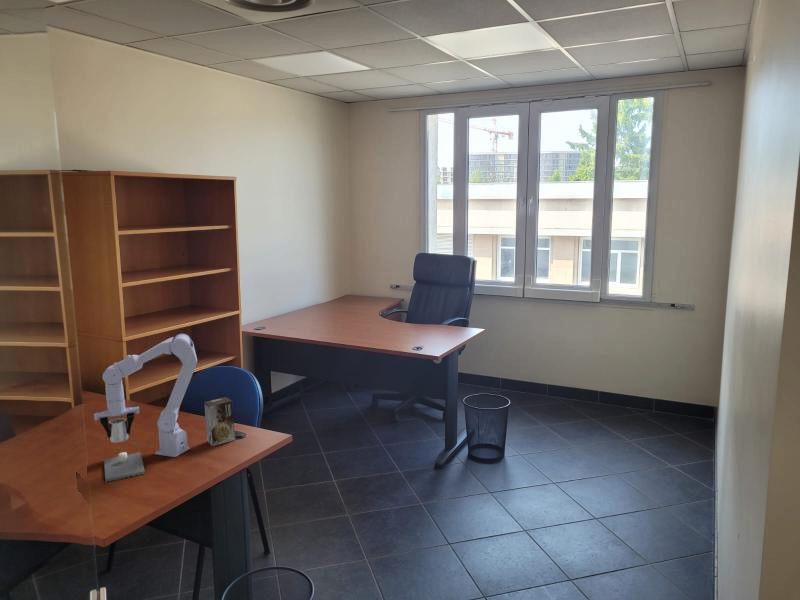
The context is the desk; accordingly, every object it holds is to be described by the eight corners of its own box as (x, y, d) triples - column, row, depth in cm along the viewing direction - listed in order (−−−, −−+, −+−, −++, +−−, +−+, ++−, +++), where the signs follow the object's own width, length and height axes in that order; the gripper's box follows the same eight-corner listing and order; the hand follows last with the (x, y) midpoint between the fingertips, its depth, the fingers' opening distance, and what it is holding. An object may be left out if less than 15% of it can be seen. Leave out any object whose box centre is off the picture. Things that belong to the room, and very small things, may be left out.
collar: (131, 437, 212) (129, 419, 211) (119, 443, 207) (117, 424, 206) (119, 435, 214) (117, 417, 213) (107, 441, 209) (105, 422, 208)
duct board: (140, 454, 214) (139, 444, 213) (145, 473, 198) (143, 462, 197) (104, 462, 208) (103, 451, 207) (105, 482, 192) (104, 470, 192)
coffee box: (229, 435, 230) (226, 396, 228) (235, 440, 225) (232, 400, 223) (206, 441, 225) (203, 401, 222) (212, 446, 220) (209, 405, 217)
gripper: (136, 392, 215) (140, 427, 217) (92, 399, 208) (96, 435, 210) (138, 398, 209) (141, 434, 211) (92, 405, 202) (96, 442, 204)
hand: (119, 435), depth 210 cm, fingers closed on collar, 6 cm apart
